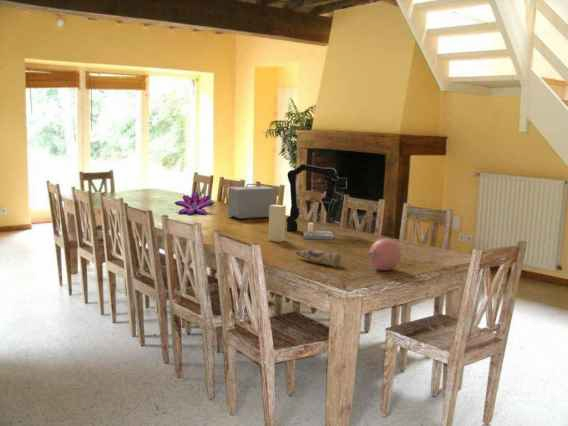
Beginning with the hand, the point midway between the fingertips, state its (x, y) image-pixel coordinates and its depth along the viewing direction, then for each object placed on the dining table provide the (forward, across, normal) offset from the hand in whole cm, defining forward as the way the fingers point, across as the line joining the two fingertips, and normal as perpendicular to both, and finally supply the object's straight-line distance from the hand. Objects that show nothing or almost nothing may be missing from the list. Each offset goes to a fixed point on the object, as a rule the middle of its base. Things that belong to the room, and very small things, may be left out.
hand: (329, 211), depth 380 cm
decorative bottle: (+14, -83, -17) cm, 86 cm away
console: (+14, -16, +2) cm, 21 cm away
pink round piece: (+13, -86, -49) cm, 100 cm away
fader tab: (+12, -18, +7) cm, 22 cm away
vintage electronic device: (+15, +34, +67) cm, 77 cm away
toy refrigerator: (+14, -39, +22) cm, 47 cm away
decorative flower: (+16, +32, +113) cm, 119 cm away
